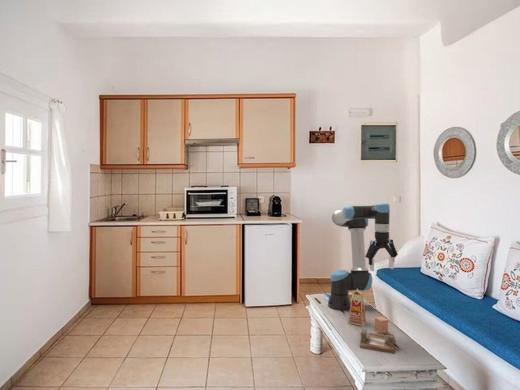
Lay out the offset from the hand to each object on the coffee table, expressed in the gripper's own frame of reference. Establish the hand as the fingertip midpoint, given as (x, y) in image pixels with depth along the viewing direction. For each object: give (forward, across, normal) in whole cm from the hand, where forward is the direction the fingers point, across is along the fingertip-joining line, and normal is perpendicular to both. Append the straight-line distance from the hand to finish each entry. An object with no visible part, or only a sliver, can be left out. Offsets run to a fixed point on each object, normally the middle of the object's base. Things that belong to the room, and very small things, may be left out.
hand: (381, 269), depth 186 cm
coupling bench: (+34, -12, -10) cm, 38 cm away
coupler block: (+34, 0, 0) cm, 34 cm away
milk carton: (+35, -4, +16) cm, 38 cm away
